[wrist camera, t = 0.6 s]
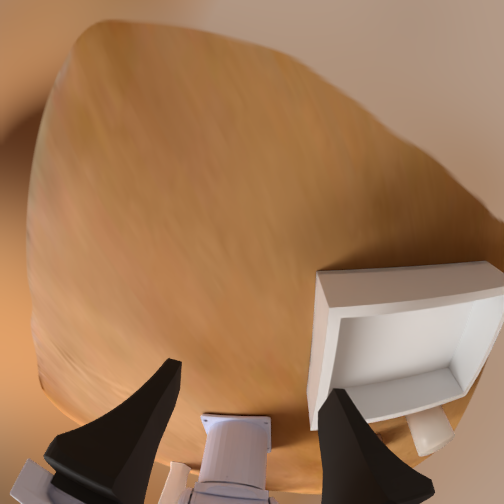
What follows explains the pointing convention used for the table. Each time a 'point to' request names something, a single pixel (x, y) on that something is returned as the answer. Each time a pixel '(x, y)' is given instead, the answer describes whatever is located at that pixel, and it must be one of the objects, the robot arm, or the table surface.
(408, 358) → the tote
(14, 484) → the robot arm
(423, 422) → the ceramic cylinder
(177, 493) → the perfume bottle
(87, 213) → the table surface
